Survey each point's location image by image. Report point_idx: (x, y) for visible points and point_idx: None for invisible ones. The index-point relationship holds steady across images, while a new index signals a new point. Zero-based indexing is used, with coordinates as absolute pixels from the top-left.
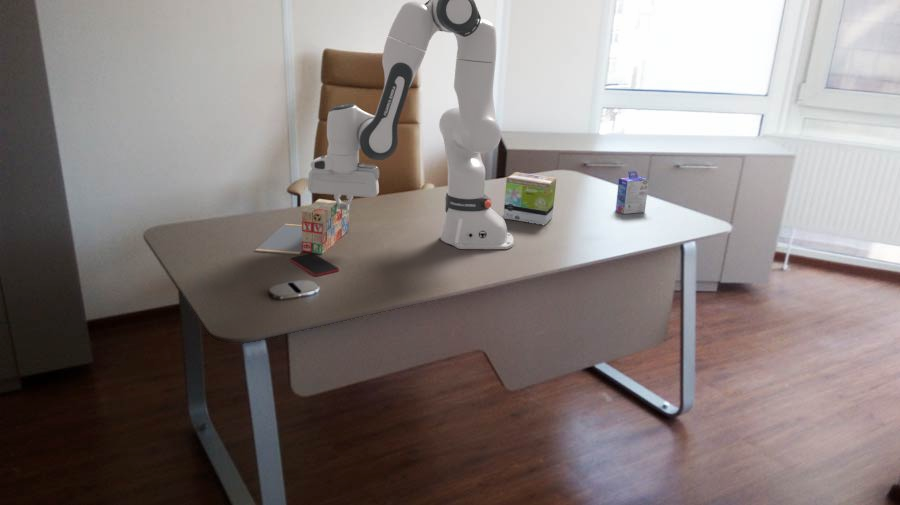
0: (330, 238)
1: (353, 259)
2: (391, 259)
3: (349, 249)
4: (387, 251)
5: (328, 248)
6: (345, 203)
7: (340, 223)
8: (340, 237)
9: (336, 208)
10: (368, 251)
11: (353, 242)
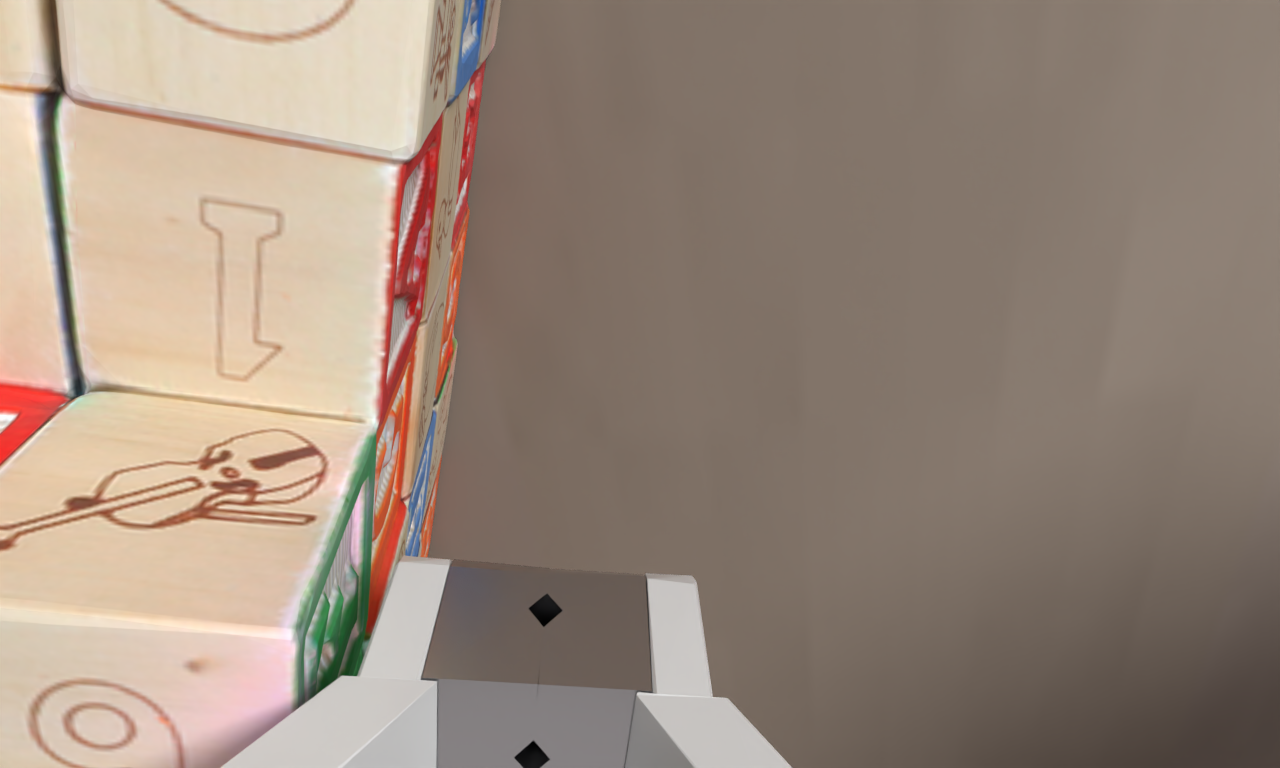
0: (423, 527)
1: (748, 708)
2: (1117, 676)
3: (679, 480)
4: (1119, 494)
5: (434, 508)
6: (589, 745)
7: (450, 153)
8: (482, 76)
9: (341, 645)
10: (901, 514)
11: (704, 238)
